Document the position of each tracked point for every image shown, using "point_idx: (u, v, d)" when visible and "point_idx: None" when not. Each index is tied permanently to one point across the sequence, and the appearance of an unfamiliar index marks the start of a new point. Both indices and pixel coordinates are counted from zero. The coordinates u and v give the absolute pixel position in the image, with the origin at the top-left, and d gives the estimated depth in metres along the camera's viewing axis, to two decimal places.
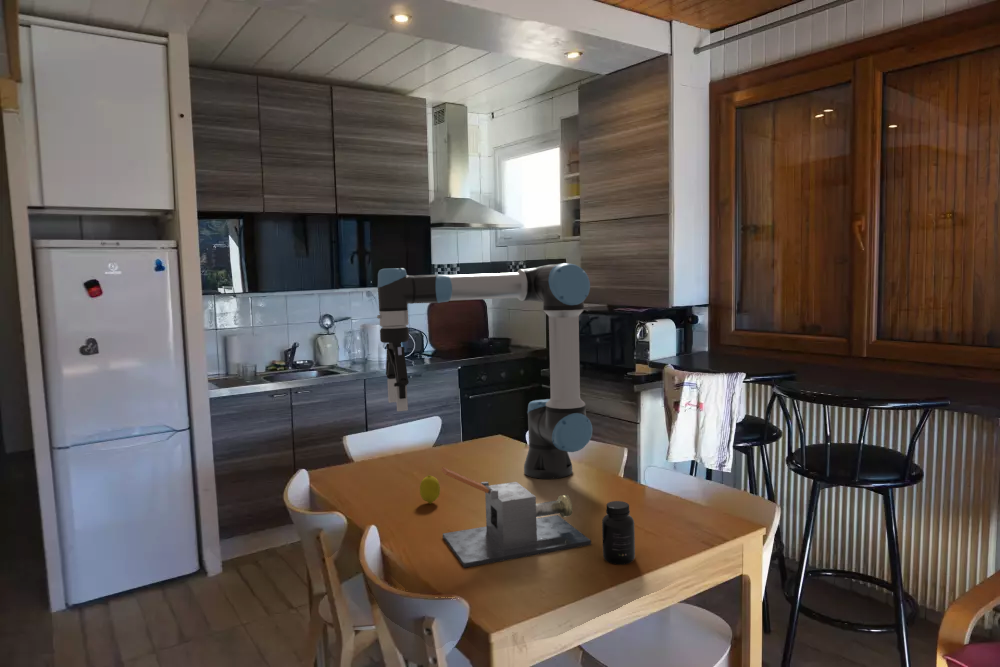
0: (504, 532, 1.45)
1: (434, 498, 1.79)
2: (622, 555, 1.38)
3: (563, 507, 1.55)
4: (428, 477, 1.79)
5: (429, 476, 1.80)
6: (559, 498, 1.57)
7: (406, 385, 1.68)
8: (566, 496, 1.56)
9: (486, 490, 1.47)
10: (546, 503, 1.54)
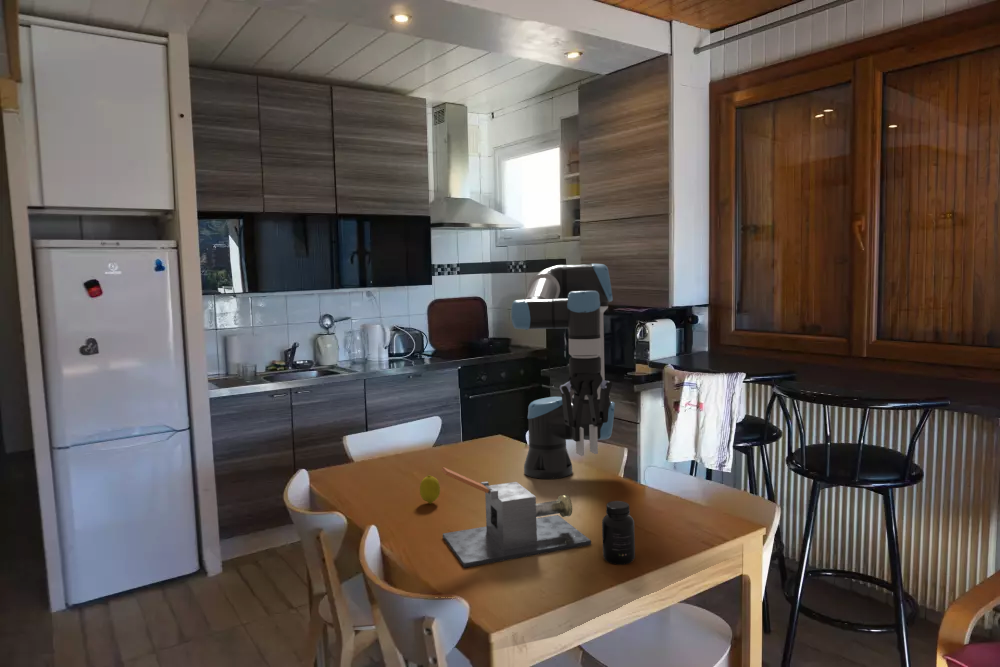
0: (504, 532, 1.45)
1: (434, 498, 1.79)
2: (622, 555, 1.38)
3: (563, 507, 1.55)
4: (428, 477, 1.79)
5: (429, 476, 1.80)
6: (559, 498, 1.57)
7: (578, 428, 1.55)
8: (566, 496, 1.56)
9: (486, 490, 1.47)
10: (546, 503, 1.54)
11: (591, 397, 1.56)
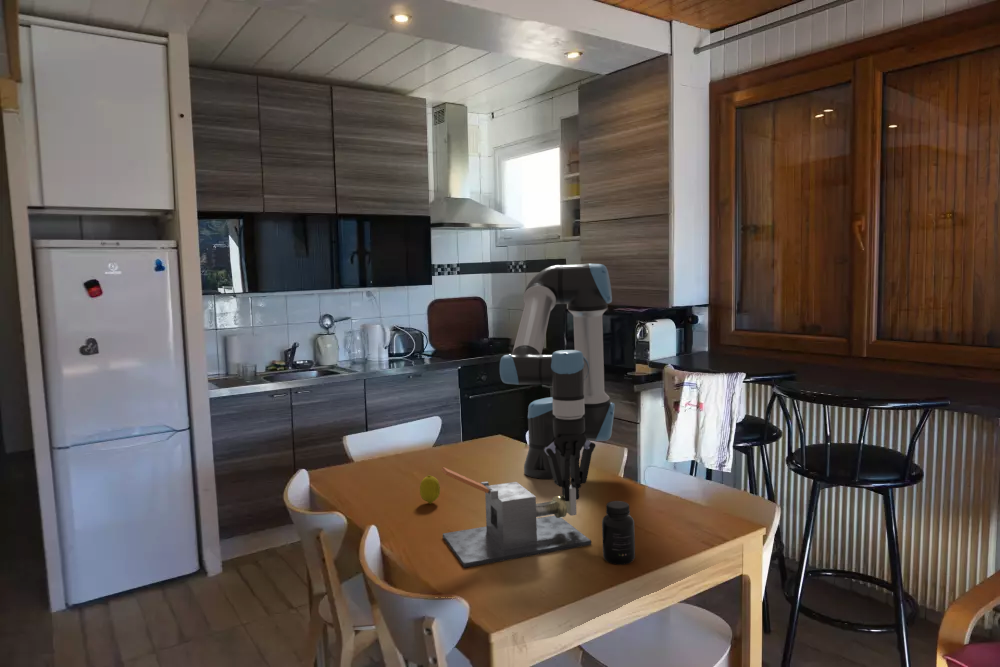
0: (504, 532, 1.45)
1: (434, 498, 1.79)
2: (622, 555, 1.38)
3: (558, 507, 1.54)
4: (428, 477, 1.79)
5: (429, 476, 1.80)
6: (554, 499, 1.57)
7: (568, 488, 1.55)
8: (561, 497, 1.55)
9: (486, 490, 1.47)
10: (540, 504, 1.54)
11: (573, 457, 1.56)
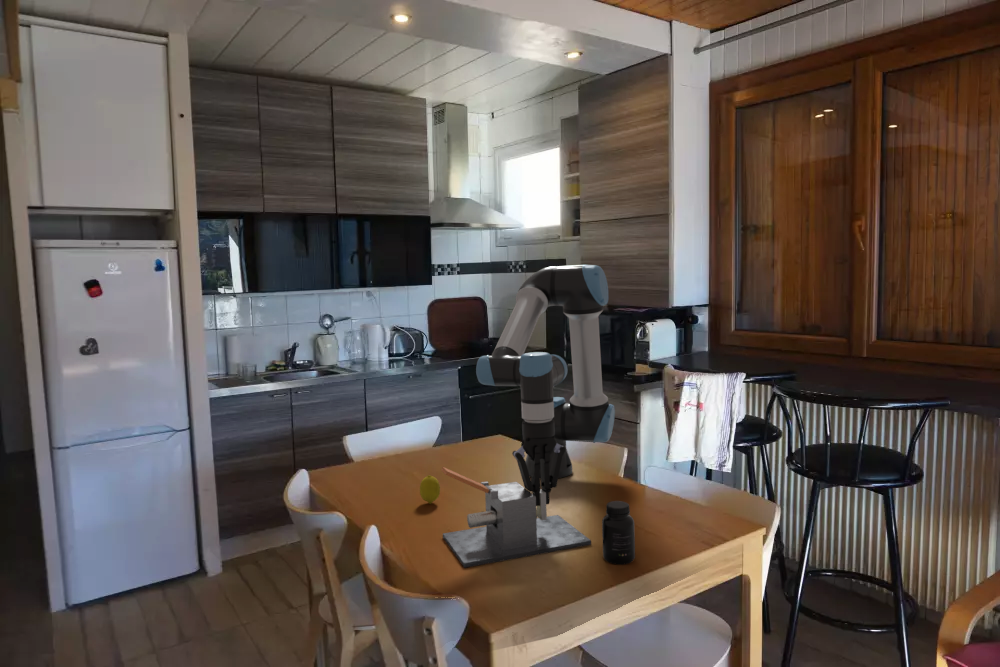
0: (504, 532, 1.45)
1: (434, 498, 1.79)
2: (622, 555, 1.38)
3: None
4: (428, 477, 1.79)
5: (429, 476, 1.80)
6: None
7: (538, 492, 1.53)
8: None
9: (486, 490, 1.47)
10: None
11: (543, 461, 1.53)
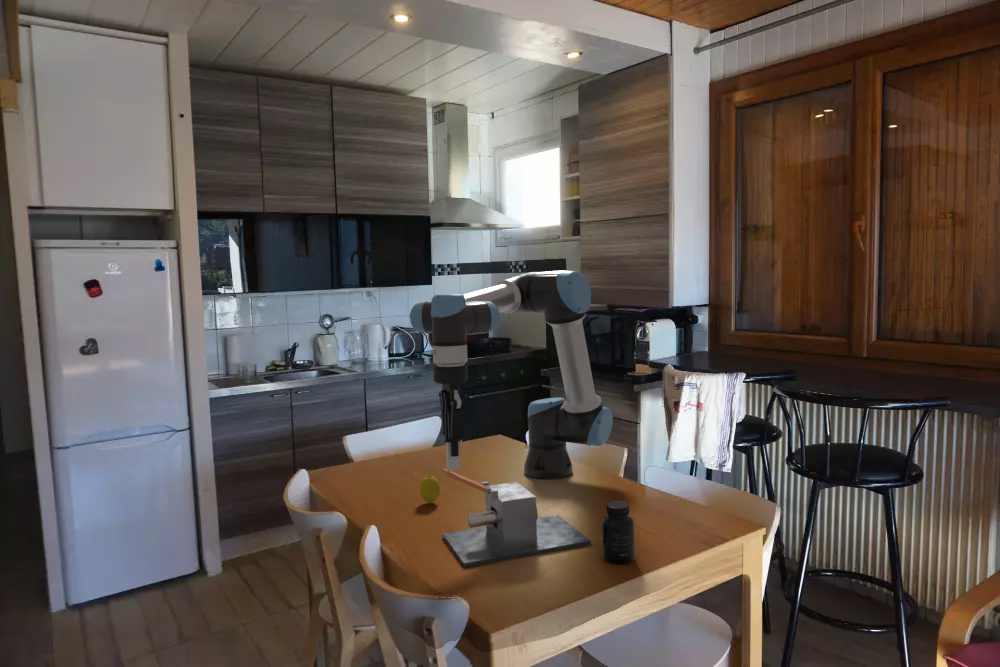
0: (504, 532, 1.45)
1: (434, 498, 1.79)
2: (622, 555, 1.38)
3: None
4: (428, 477, 1.79)
5: (429, 476, 1.80)
6: None
7: (458, 440, 1.45)
8: None
9: (486, 490, 1.47)
10: None
11: None
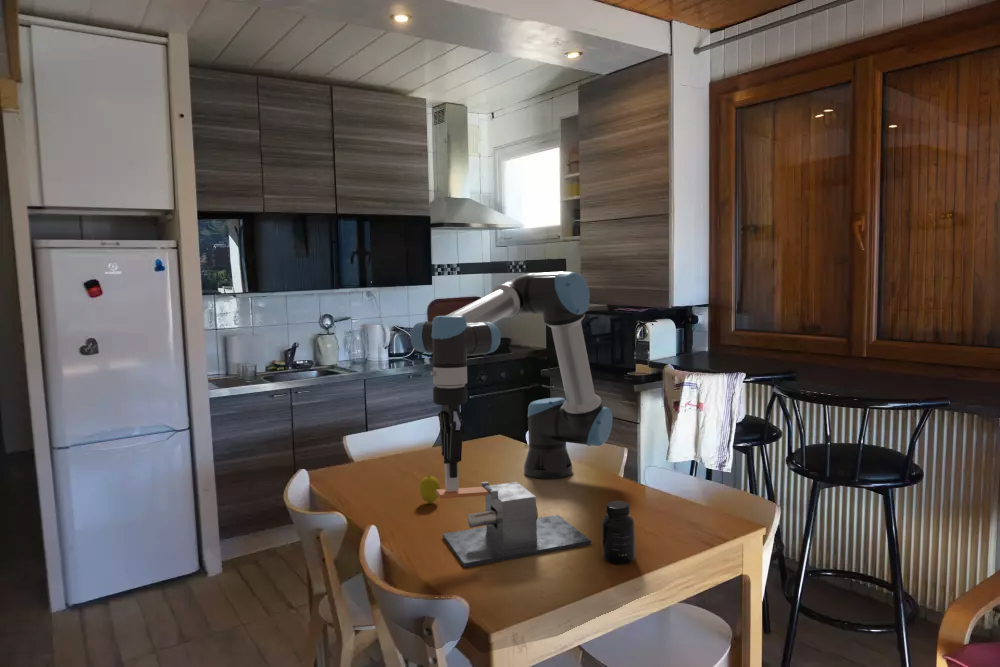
0: (504, 532, 1.45)
1: (434, 498, 1.79)
2: (622, 555, 1.38)
3: None
4: (428, 477, 1.79)
5: (429, 476, 1.80)
6: None
7: (457, 461, 1.46)
8: None
9: (485, 493, 1.47)
10: None
11: None
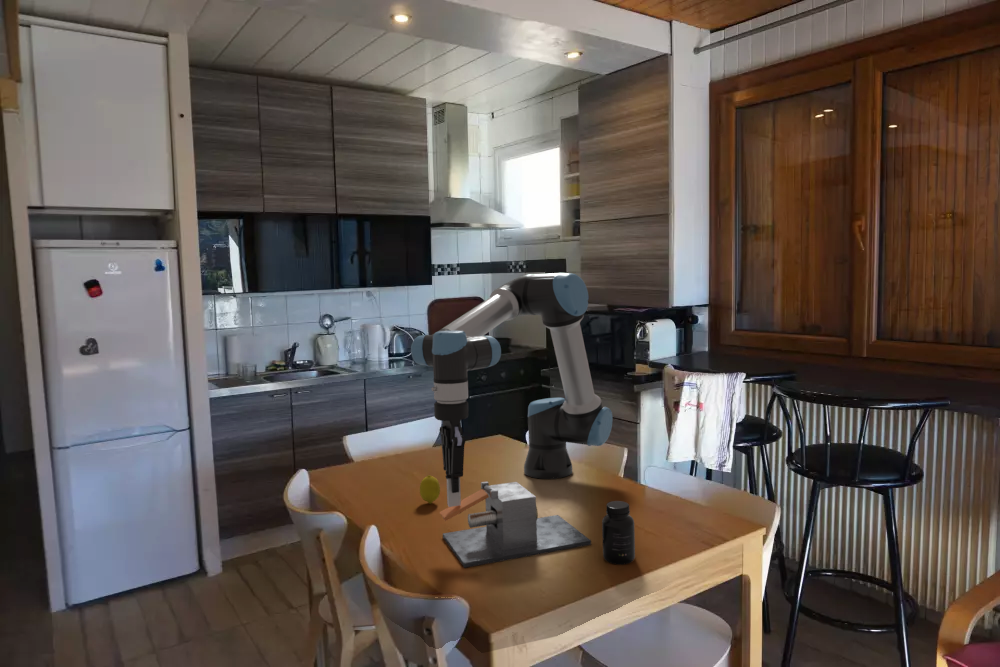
0: (504, 532, 1.45)
1: (434, 498, 1.79)
2: (622, 555, 1.38)
3: None
4: (428, 477, 1.79)
5: (429, 476, 1.80)
6: None
7: (459, 476, 1.46)
8: None
9: (486, 496, 1.47)
10: None
11: None
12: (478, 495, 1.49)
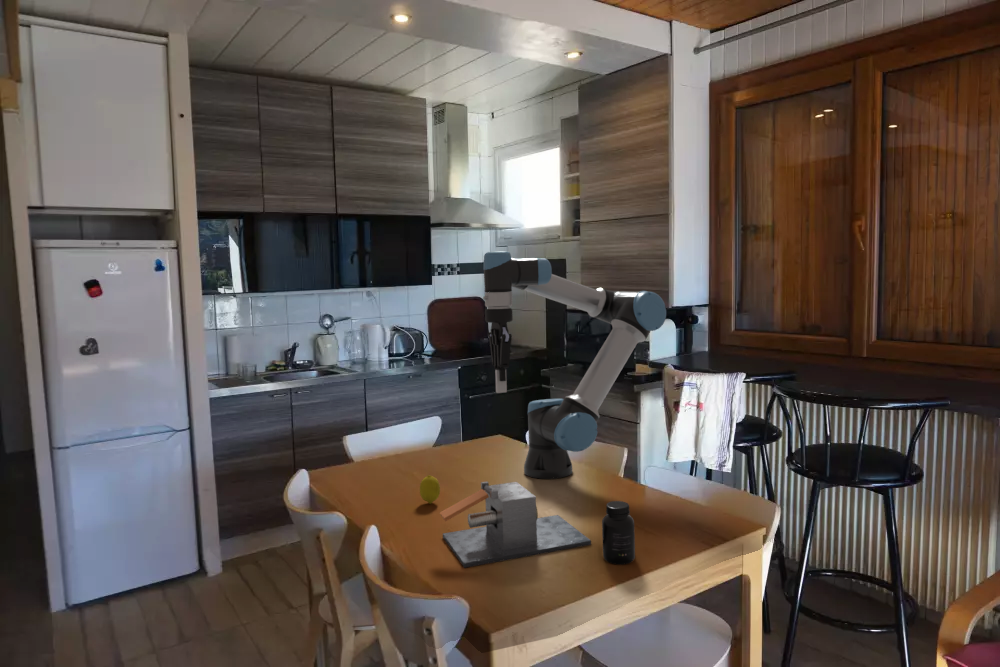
0: (504, 532, 1.45)
1: (434, 498, 1.79)
2: (622, 555, 1.38)
3: None
4: (428, 477, 1.79)
5: (429, 476, 1.80)
6: None
7: (505, 368, 1.82)
8: None
9: (486, 496, 1.47)
10: None
11: None
12: (478, 495, 1.49)
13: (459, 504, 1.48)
